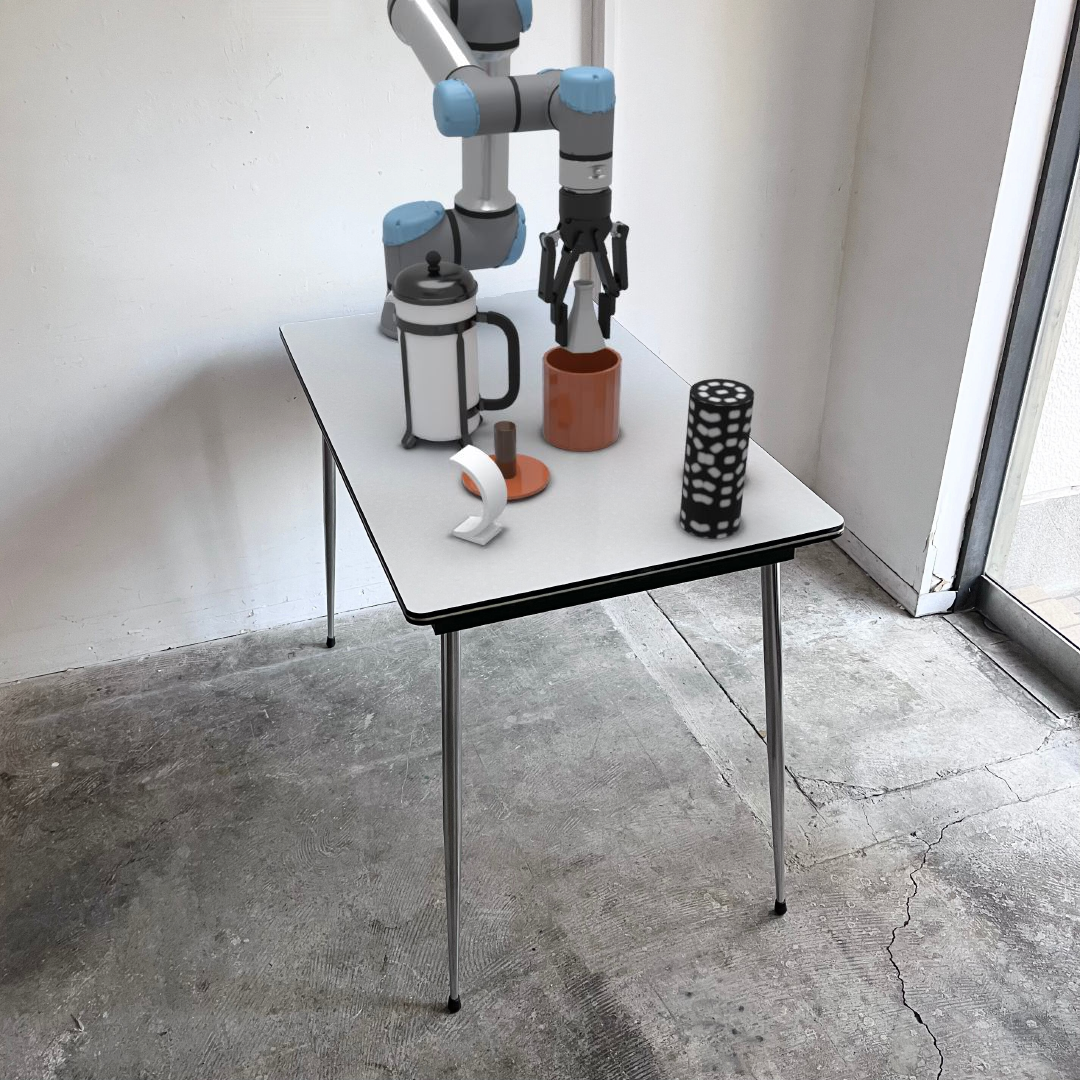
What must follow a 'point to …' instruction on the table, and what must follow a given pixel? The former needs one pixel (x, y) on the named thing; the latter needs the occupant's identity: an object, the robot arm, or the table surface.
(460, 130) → the robot arm
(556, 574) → the table surface
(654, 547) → the table surface
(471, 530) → the headphone stand
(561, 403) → the canister
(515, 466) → the lid
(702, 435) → the white-spotted black cylinder
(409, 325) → the coffee press
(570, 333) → the flask
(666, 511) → the table surface
